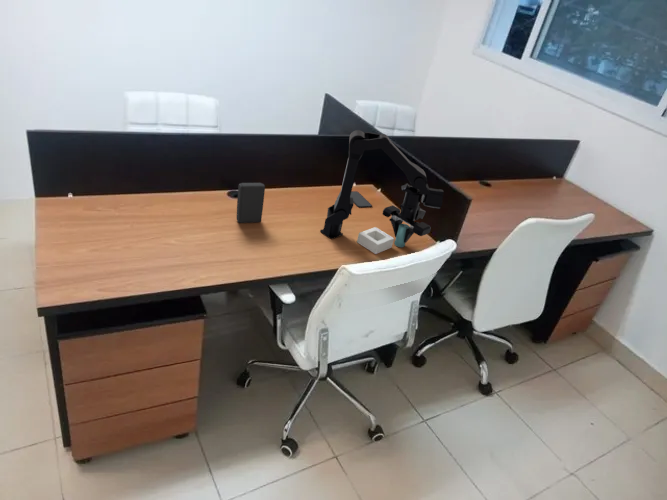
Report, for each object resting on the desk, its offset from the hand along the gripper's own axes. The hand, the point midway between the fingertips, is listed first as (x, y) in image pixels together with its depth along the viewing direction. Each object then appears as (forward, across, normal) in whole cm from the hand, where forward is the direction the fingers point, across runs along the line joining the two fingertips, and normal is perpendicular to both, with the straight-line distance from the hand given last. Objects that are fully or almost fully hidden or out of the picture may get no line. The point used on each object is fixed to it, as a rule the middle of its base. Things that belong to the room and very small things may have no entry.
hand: (400, 239), depth 181 cm
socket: (+2, +5, +9) cm, 11 cm away
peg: (+2, 0, 0) cm, 2 cm away
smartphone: (+3, +35, -14) cm, 38 cm away
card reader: (+2, +41, +40) cm, 57 cm away
